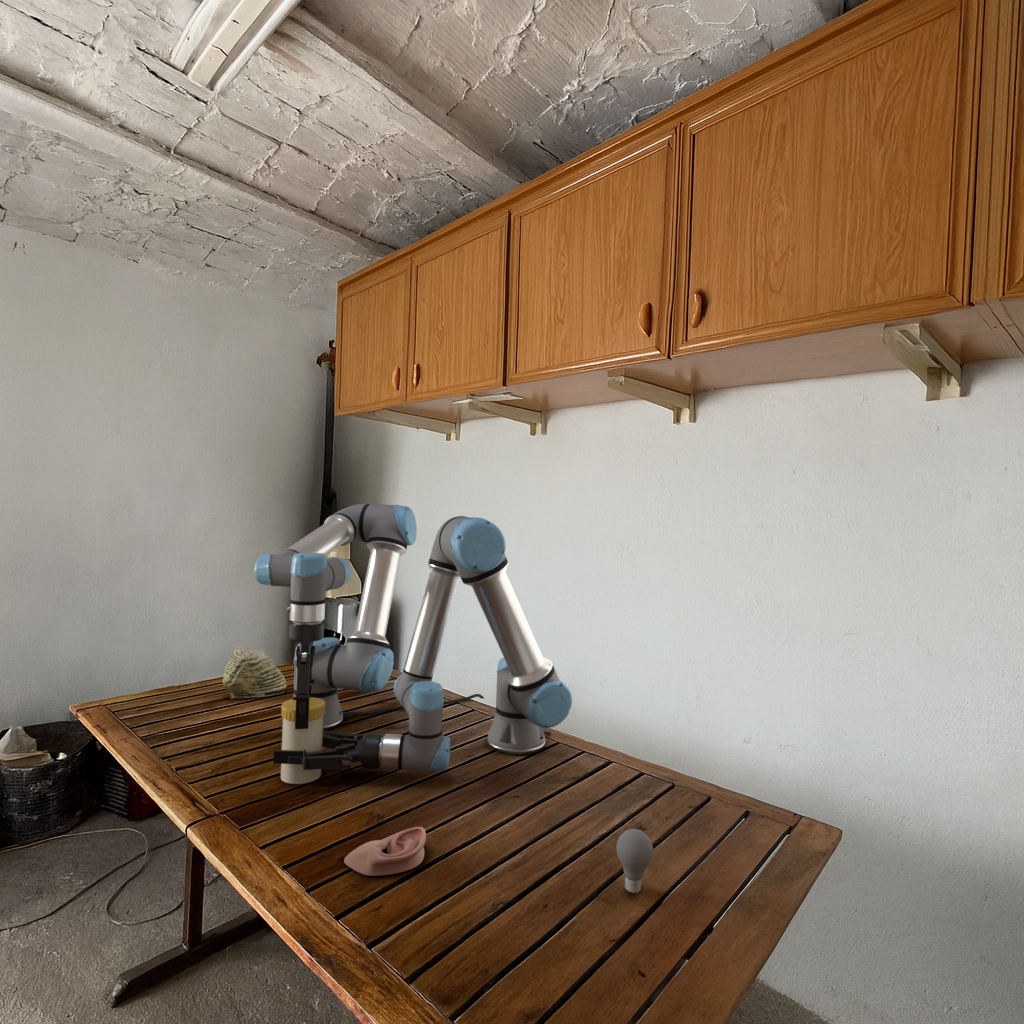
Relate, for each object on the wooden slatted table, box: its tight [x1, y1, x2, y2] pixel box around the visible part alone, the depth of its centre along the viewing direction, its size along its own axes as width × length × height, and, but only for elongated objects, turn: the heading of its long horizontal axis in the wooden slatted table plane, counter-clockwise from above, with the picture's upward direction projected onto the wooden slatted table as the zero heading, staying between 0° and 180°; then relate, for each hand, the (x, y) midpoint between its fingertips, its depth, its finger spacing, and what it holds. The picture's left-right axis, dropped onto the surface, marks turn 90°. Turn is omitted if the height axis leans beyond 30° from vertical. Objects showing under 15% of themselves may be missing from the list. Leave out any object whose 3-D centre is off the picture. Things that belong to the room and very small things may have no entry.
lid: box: [280, 697, 326, 721], centre depth 143 cm, size 9×9×2 cm
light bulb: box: [615, 828, 654, 894], centre depth 106 cm, size 6×6×10 cm
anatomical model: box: [343, 826, 427, 877], centre depth 112 cm, size 13×4×12 cm
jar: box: [279, 715, 324, 785], centre depth 143 cm, size 9×9×16 cm
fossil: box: [222, 646, 288, 699], centre depth 198 cm, size 9×18×15 cm, turn 132°
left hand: (303, 720), depth 143 cm, fingers closed on lid, 9 cm apart
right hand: (281, 748), depth 143 cm, fingers closed on jar, 9 cm apart
